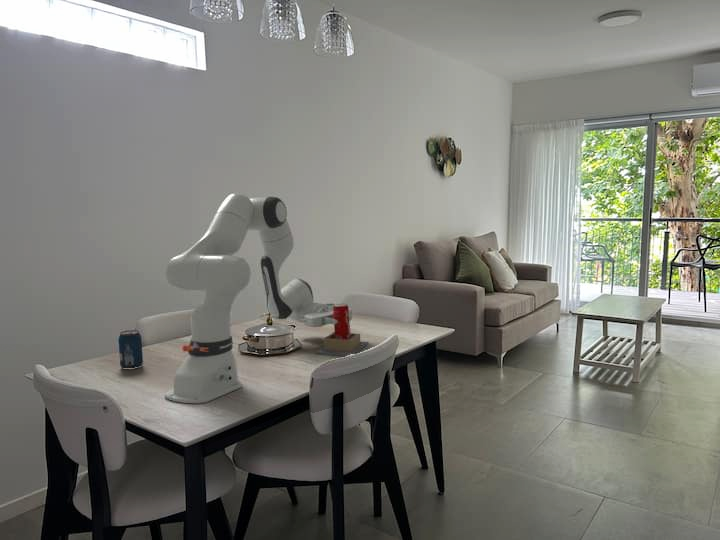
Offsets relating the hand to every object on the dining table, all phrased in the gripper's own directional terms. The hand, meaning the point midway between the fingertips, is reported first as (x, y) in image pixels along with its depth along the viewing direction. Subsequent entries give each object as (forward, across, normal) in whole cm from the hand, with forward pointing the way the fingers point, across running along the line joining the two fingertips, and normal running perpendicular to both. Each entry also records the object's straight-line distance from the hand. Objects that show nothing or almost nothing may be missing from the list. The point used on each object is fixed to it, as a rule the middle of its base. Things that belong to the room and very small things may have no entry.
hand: (343, 320), depth 192 cm
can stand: (-1, 0, +11) cm, 11 cm away
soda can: (-38, -62, +11) cm, 73 cm away
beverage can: (-1, 0, +10) cm, 10 cm away
